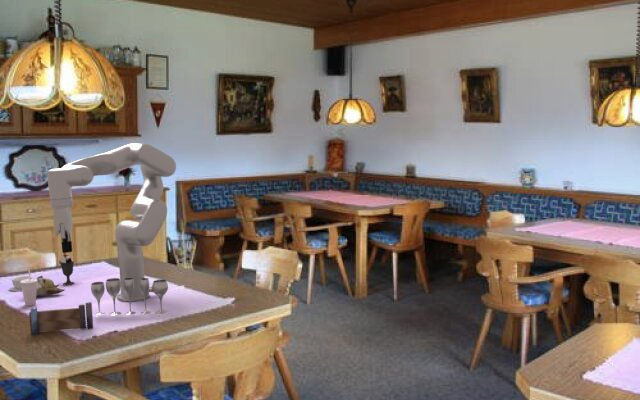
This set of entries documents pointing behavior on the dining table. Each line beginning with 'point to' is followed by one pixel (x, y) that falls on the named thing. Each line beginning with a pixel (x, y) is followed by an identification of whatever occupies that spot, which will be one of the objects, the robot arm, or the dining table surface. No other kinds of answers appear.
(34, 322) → the grey upright cylinders
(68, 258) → the sundae
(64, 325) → the gate
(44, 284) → the ceramic sculpture
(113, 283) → the goblet set
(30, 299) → the smoothie
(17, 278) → the teacup
